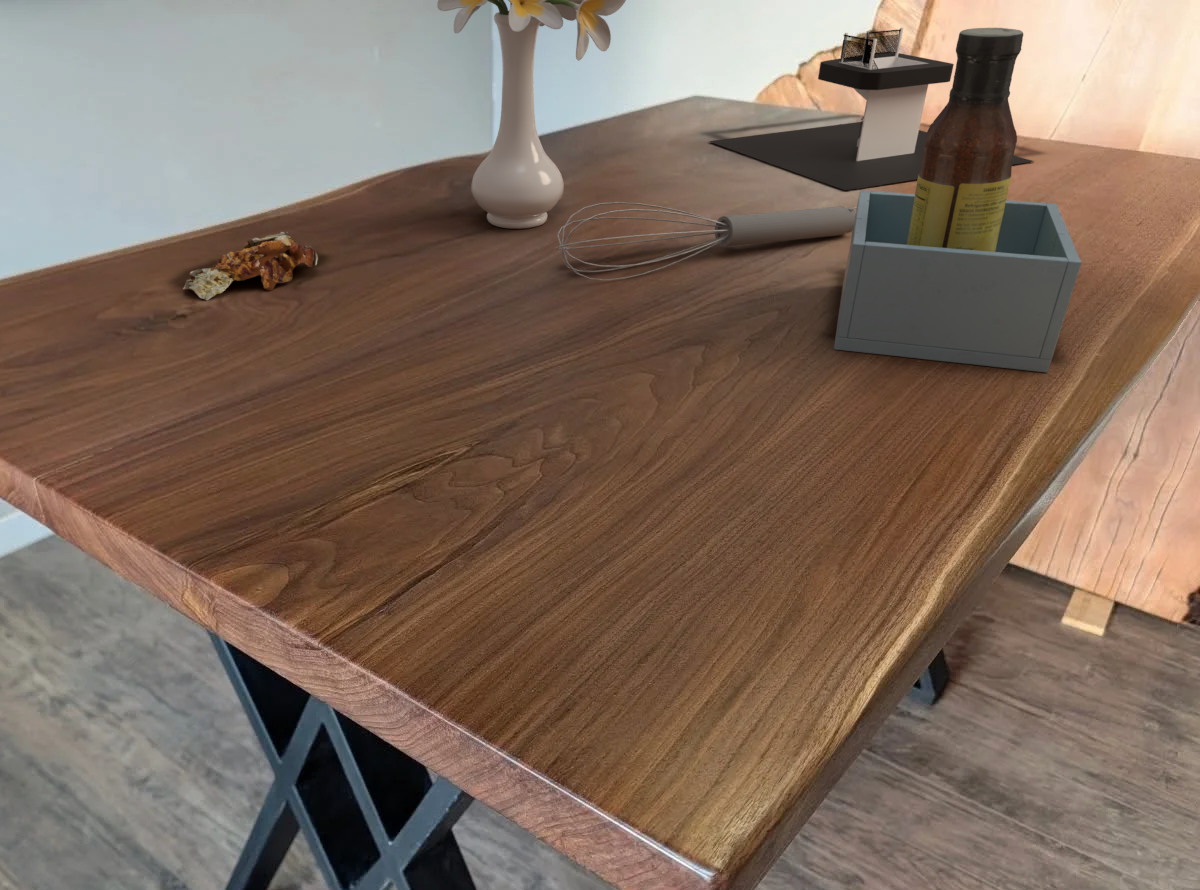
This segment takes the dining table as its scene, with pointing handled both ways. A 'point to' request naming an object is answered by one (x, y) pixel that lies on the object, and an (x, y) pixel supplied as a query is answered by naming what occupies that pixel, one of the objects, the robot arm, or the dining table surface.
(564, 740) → the dining table surface
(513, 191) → the flower vase
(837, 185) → the black-topped pedestal
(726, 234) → the kitchen whisk
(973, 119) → the sauce bottle
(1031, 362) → the open box
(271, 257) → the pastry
